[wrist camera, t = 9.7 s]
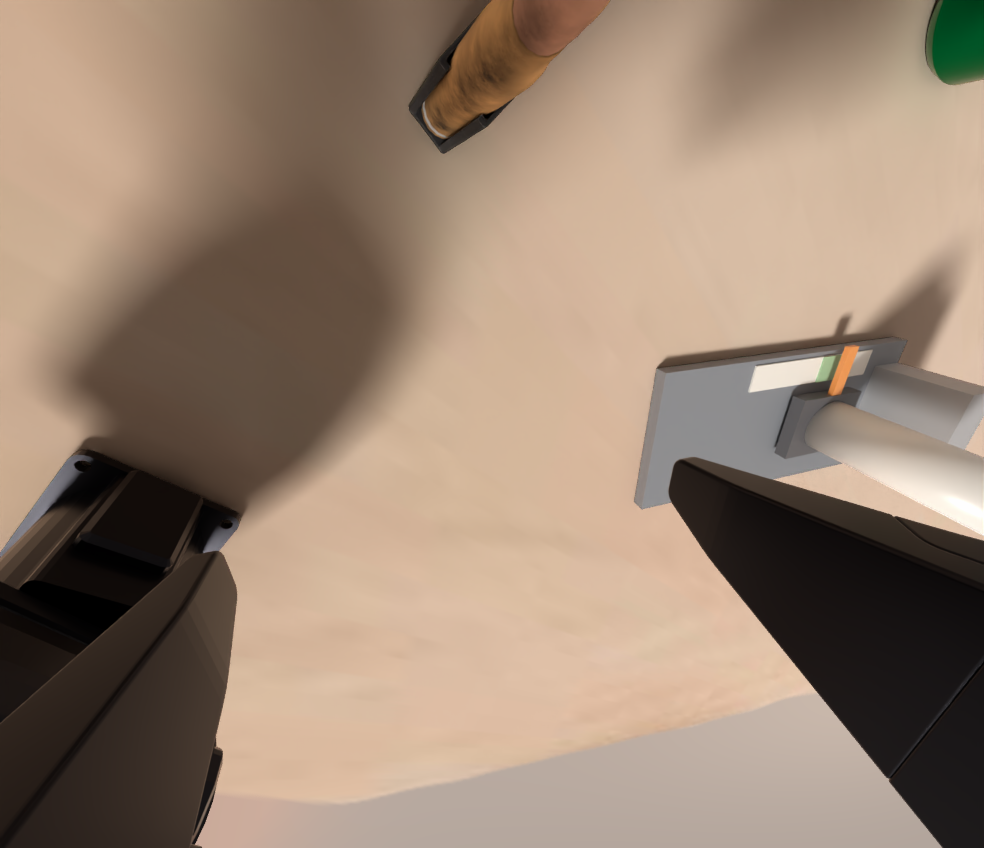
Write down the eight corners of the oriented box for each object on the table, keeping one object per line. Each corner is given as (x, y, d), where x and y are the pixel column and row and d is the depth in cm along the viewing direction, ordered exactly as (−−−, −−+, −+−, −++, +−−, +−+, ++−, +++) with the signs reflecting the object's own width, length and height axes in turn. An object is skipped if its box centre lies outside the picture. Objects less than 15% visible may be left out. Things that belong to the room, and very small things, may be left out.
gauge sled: (774, 452, 28) (961, 559, 19) (809, 347, 24) (1052, 420, 16) (826, 441, 29) (1025, 537, 20) (866, 340, 25) (1121, 404, 17)
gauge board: (634, 501, 27) (698, 566, 22) (656, 368, 23) (740, 411, 18) (843, 455, 32) (935, 500, 27) (893, 336, 28) (1013, 364, 23)
